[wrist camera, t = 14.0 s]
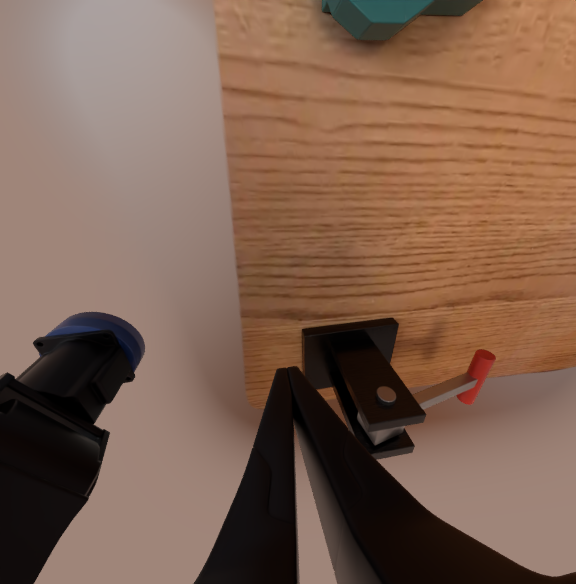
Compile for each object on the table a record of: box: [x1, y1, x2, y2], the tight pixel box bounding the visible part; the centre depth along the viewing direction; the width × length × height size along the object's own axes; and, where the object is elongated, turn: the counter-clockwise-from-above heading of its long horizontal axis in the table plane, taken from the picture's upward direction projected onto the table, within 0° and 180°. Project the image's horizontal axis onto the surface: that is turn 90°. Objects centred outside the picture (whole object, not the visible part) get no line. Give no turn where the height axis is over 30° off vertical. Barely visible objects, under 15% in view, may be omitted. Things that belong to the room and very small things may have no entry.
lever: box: [357, 349, 496, 445], centre depth 21 cm, size 13×6×2 cm, turn 92°
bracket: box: [302, 318, 426, 460], centre depth 22 cm, size 10×8×10 cm
